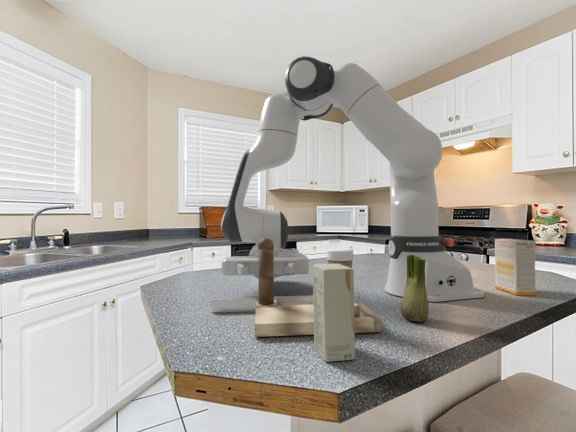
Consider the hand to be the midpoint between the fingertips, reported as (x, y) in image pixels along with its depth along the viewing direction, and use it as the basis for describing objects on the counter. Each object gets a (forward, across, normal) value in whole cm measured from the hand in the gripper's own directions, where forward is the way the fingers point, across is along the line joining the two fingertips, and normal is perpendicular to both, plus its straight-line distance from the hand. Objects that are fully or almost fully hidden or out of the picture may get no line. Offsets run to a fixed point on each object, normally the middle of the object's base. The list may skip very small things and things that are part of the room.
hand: (266, 270), depth 68 cm
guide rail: (+2, +4, +8) cm, 9 cm away
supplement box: (-6, +62, +8) cm, 63 cm away
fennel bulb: (+12, +27, +8) cm, 30 cm away
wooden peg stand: (+11, +8, +7) cm, 15 cm away
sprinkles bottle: (+13, +13, +8) cm, 20 cm away
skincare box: (+24, +9, +8) cm, 27 cm away
